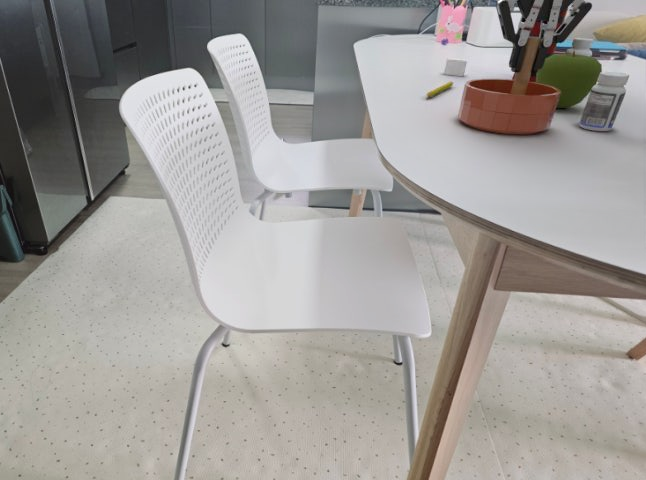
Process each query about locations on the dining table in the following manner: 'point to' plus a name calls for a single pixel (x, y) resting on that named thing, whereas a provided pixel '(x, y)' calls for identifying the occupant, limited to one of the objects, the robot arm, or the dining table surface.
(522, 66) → the stirring stick
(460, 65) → the eraser
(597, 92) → the pill bottle
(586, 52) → the supplement bottle
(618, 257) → the dining table surface
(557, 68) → the apple
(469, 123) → the bowl
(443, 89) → the pencil
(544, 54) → the robot arm
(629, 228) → the dining table surface
